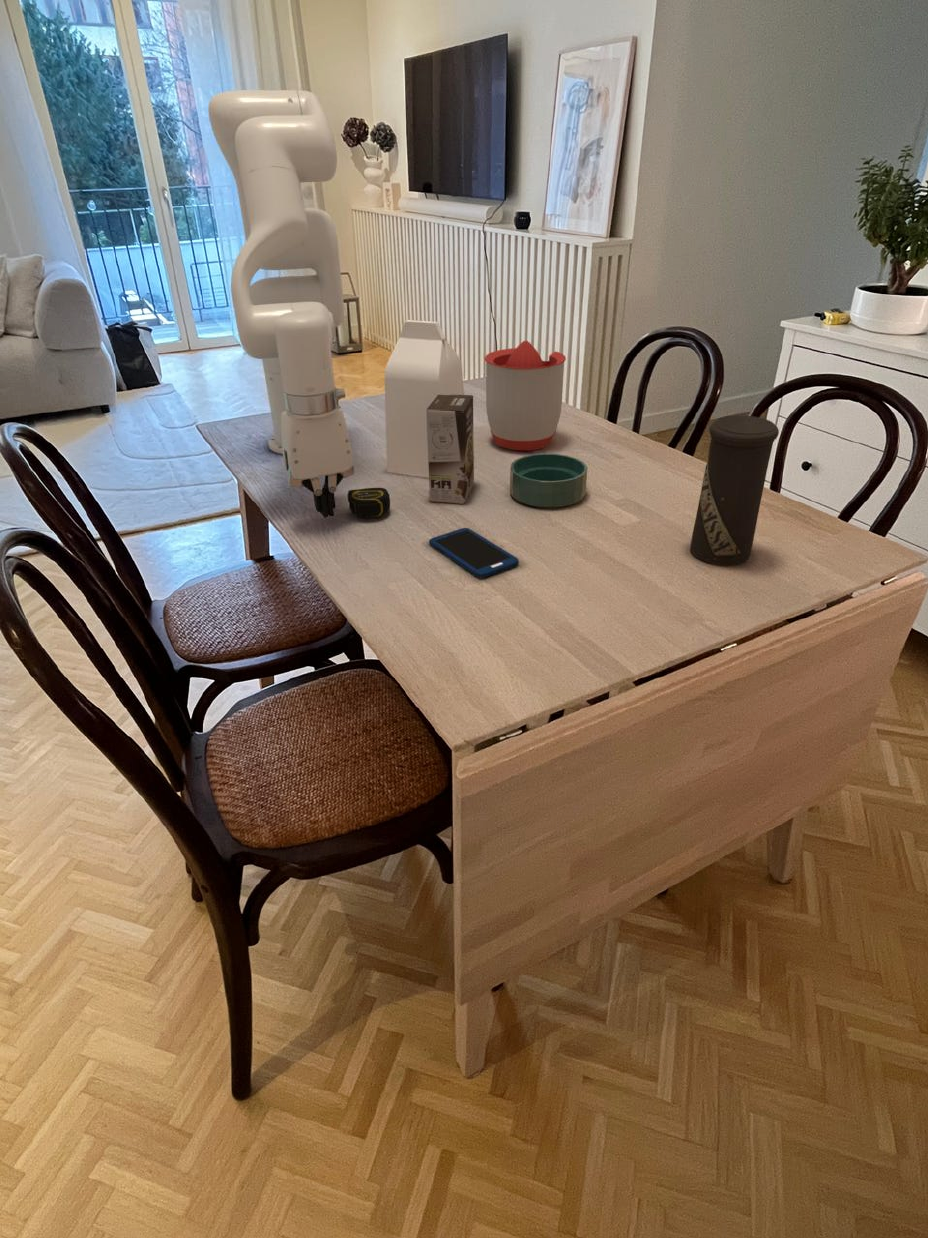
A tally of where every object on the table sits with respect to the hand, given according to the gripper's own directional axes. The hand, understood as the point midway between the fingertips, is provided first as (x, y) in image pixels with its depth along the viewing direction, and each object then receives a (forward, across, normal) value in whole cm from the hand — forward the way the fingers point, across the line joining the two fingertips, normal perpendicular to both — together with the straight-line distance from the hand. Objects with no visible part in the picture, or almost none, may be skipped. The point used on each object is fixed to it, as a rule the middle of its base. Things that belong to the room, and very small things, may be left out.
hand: (326, 513), depth 118 cm
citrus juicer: (+2, -48, -16) cm, 51 cm away
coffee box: (+2, -23, 0) cm, 23 cm away
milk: (+2, -25, -14) cm, 29 cm away
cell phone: (+2, -15, +22) cm, 27 cm away
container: (+2, -48, +40) cm, 62 cm away
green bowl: (+1, -37, +9) cm, 38 cm away
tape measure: (+2, -7, 0) cm, 7 cm away
